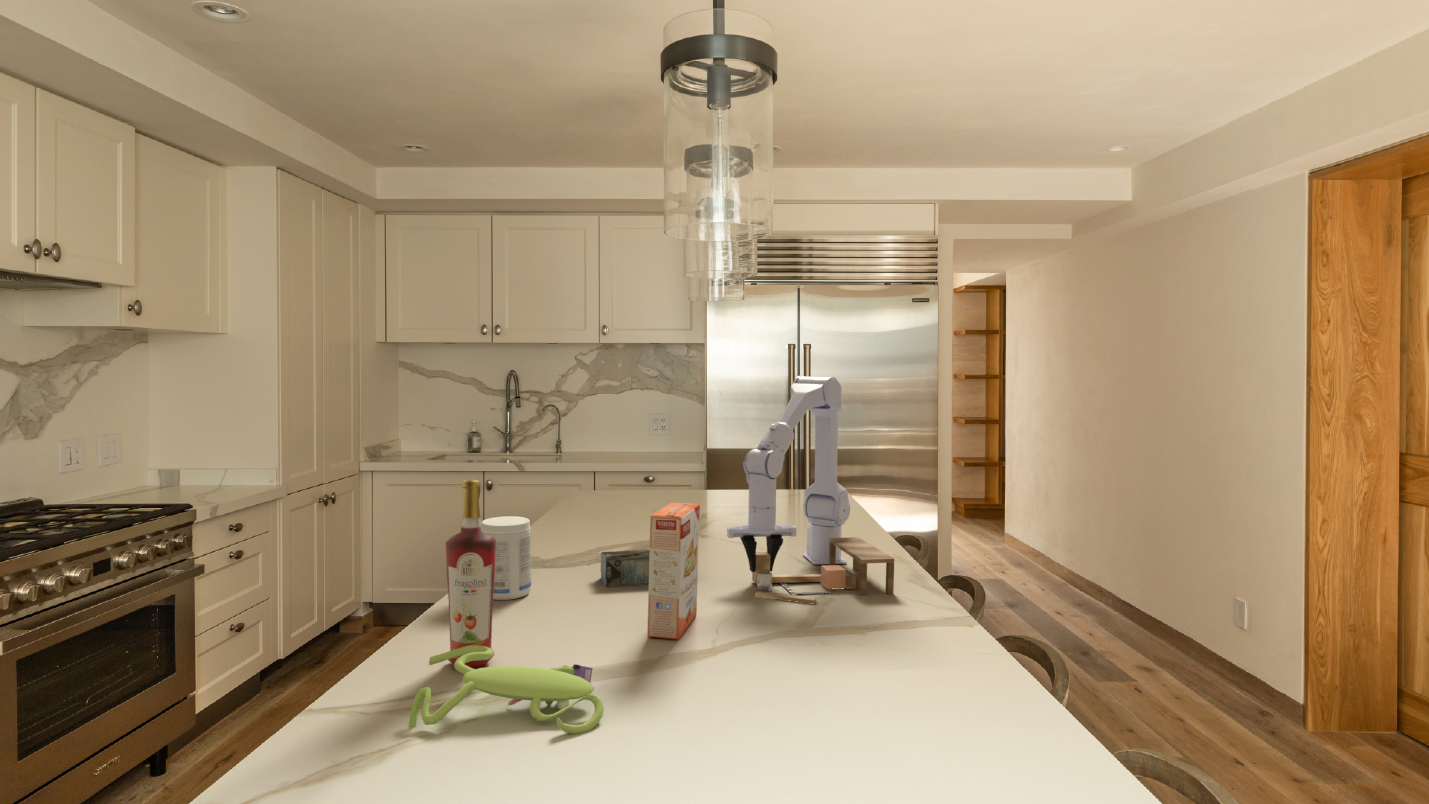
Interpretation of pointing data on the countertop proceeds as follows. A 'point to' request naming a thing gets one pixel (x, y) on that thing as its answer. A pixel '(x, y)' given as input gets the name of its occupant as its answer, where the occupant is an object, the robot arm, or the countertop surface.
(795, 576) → the oak crook
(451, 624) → the liquor
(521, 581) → the supplement tub
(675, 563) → the cracker box
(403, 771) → the countertop surface
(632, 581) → the beverage carton
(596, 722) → the figurine
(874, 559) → the wooden bench
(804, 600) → the maple bar
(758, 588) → the spice tin
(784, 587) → the tape bracket
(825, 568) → the terracotta cube
